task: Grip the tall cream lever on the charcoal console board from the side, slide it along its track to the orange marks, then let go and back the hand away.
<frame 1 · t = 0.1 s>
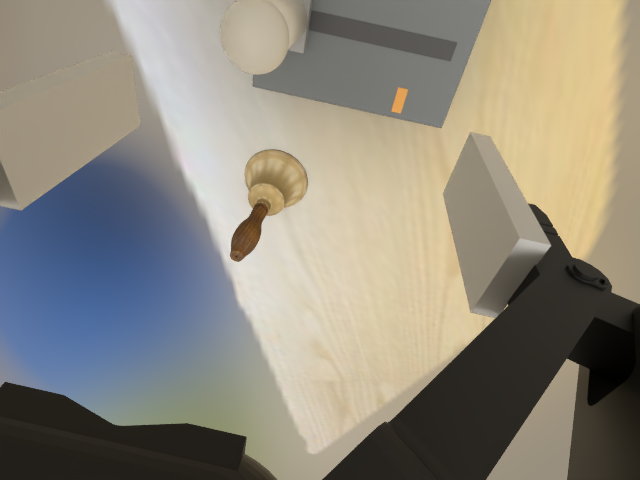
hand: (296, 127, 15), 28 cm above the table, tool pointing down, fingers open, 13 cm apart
lever: (270, 27, 29), point 10 cm above the table, slide at -7.0 cm
console: (364, 27, 37), on the table
hand bell: (276, 178, 48), on the table
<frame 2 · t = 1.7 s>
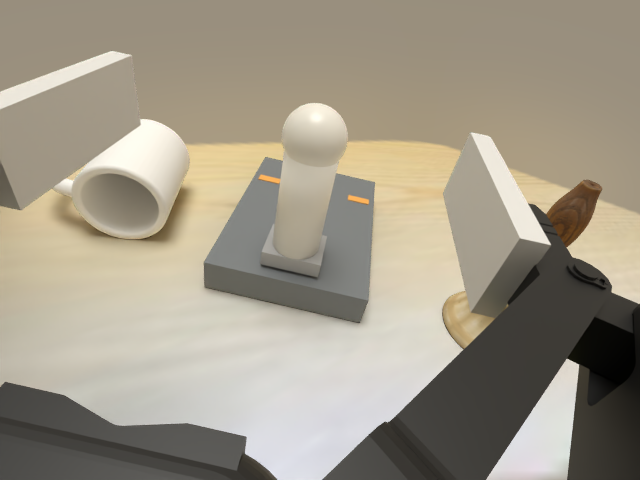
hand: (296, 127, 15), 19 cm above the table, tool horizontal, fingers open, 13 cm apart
lever: (305, 191, 29), point 10 cm above the table, slide at -7.0 cm
console: (302, 236, 41), on the table
mug: (122, 209, 39), on the table
hand bell: (484, 328, 35), on the table
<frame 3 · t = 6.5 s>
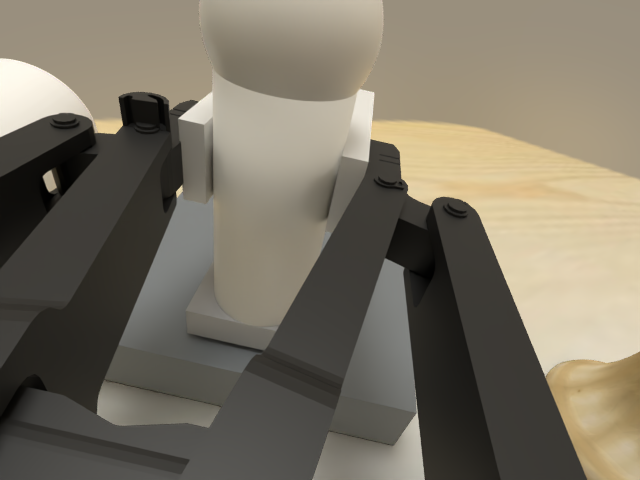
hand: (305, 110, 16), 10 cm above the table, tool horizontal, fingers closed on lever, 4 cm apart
lever: (275, 177, 12), point 10 cm above the table, slide at -7.0 cm, touching gripper
console: (285, 260, 24), on the table
hand bell: (623, 438, 19), on the table
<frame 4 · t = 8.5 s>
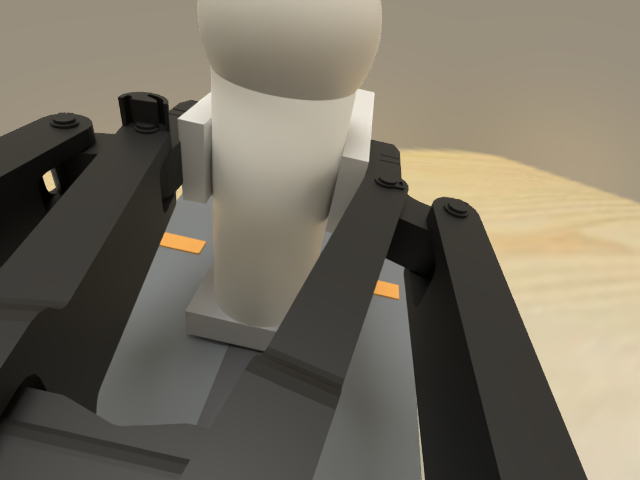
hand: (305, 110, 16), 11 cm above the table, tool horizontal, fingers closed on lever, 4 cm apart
lever: (275, 177, 12), point 10 cm above the table, slide at 1.7 cm, touching gripper
console: (246, 383, 17), on the table
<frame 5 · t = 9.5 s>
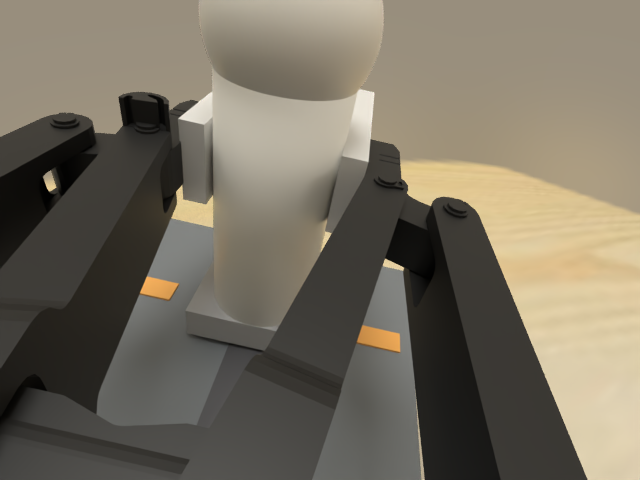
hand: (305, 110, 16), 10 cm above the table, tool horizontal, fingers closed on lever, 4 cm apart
lever: (275, 177, 12), point 10 cm above the table, slide at 4.9 cm, touching gripper
console: (222, 457, 15), on the table
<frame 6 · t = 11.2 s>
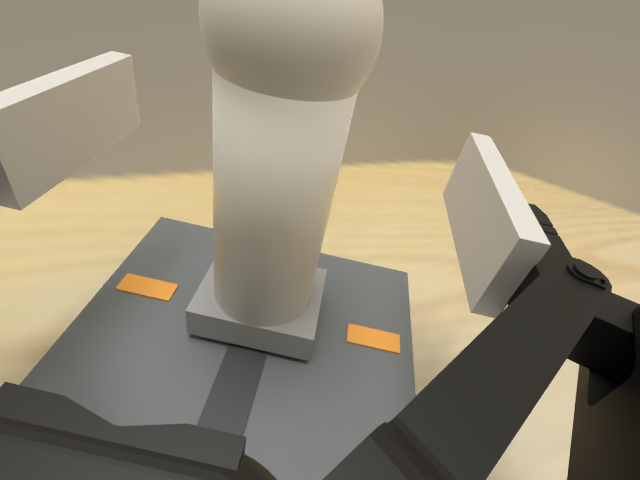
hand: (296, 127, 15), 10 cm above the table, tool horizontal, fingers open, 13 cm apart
lever: (275, 178, 12), point 10 cm above the table, slide at 5.0 cm
console: (221, 458, 15), on the table
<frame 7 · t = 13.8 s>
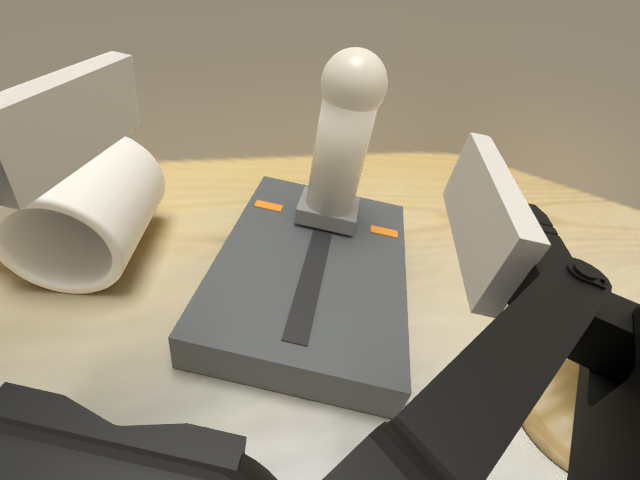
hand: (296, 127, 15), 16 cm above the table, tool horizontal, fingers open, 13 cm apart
lever: (341, 144, 28), point 10 cm above the table, slide at 5.0 cm
console: (311, 281, 31), on the table
mug: (75, 249, 30), on the table
hand bell: (571, 419, 25), on the table
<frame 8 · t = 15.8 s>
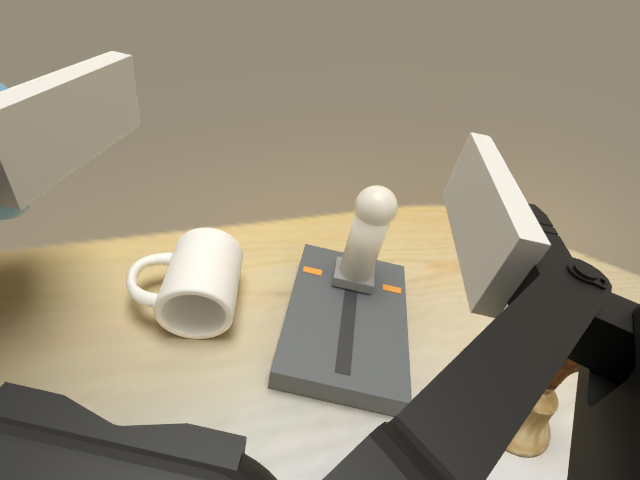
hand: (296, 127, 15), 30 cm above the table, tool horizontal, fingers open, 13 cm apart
lever: (365, 238, 43), point 10 cm above the table, slide at 5.0 cm
console: (343, 325, 46), on the table
mug: (186, 304, 44), on the table
hand bell: (508, 416, 40), on the table
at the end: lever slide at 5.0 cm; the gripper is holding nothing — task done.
